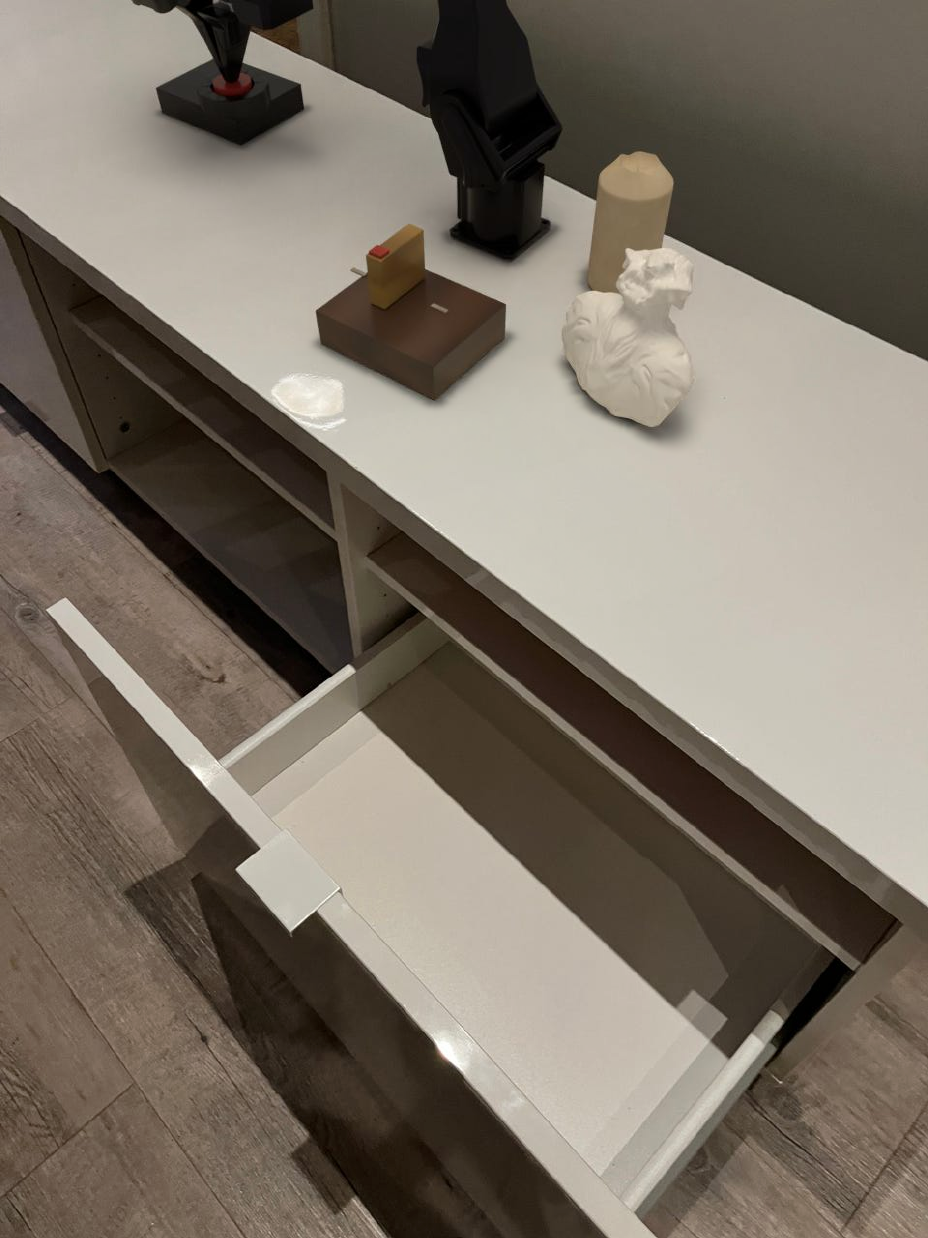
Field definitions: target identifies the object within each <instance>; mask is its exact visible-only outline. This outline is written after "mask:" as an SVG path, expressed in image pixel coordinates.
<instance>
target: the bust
mask: <svg viewBox="0 0 928 1238" xmlns="http://www.w3.org/2000/svg"><path fill="white" fill-rule="evenodd" d="M625 254H626V260H625V262H624V263H623V266H622V267H623V269H626V270H625V272H624V273H622V274H621V275H620V276H619V278H618V280H617V282H616V287H617V289H618V290H619V293H620V294H621V295H622V296H621V295H620V294H617V293H612V292H608V293H602V292H598V291H593V290H588V291H585V292H583V293H580V294H578V295H576V296H575V297H574V298H573V300H572V302H571V306H570V307H569V308H568V309H567V311H566V314H565V323H564V324H563V326H562V329H561V341H562V344H563V352H564V357H565V358H566V359H567V361H568V362H569V364H570V366H571V368H572V369H573V370H574V372H575V373H576V379H577V382H578V384H579V386H580V388H581V389H582V390H583V391H585V392H586V393H587V394H588V395H589V397H590V398H591V399H593V401H595V402H596V403H597V404H598V405H600V406H602V407H604V408H605V409H606V410H608V412H609V413H610V414H611V415H612V416H614V417H619V418H625V419H626V418H627V419H630V420H633V421H634V422H636V423H638V424H641V425H643V426H646V427H649V428H655V427H658V426H659V425H661V423H662V422H663V421H665V419H666V418H667V417H668V415H670V414H671V413H672V411H673V410H674V409H675V408H676V407H677V406H678V404H679V403H681V402H682V401H683V400H685V399H686V398H687V397H688V395H689V394H690V392H691V390H692V387H693V385H694V384H695V382H696V379H697V378H696V372H695V371H694V369H693V363H692V355H691V353H690V351H689V349H688V348H687V346H686V344H685V342H684V341H683V339H682V338H681V337H679V334H678V332H677V326H676V324H675V323H674V322H673V321H672V319H671V318H670V317H669V316H670V309H671V307H672V306H674V307H675V308H677V309H678V310H680V311H683V309H684V308H685V304H686V301H687V300H688V297H689V296H691V295H692V293H693V282H694V264H693V263H692V262H691V261H690V260H689V259H688V258H686V256H685V255H684V254H681V252H680V249H678V250H676V249H675V248H670V247H662V248H660V249H654V250H641V251H634V250H632V249H630V248H627V249H626V250H625Z"/></svg>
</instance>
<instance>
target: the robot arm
mask: <svg viewBox="0 0 928 1238" xmlns="http://www.w3.org/2000/svg"><path fill="white" fill-rule="evenodd" d="M436 1H437V3H436V4H437V10H438V11H437V12H438V19H437V20H438V21H437V23H436V28H435V32H434V36H433V37H431V39H428V40H427V41H425V42H423V43H422V44H420V45H418V46H416V56H415V57H416V65H417V69H418V72H419V76H420V79H421V83H422V100H421V106H422V107H423V108H426V107H428V109H429V115H430V116H429V117H430V119H431V122H432V125H433V127H434V130H435V131H436V133H437V135H438V140H439V143H440V146H441V150H442V153H443V157H444V161H445V164H446V167H447V171H448V174H449V175H450V176H452V177H453V178H454V177H455V178H456V213H457V214H456V216H457V219H458V220H459V222H458V223H456V224H455V225H453V226H452V227H451V228H449V237H451V238H452V239H455V240H457V241H459V242H461V243H465V244H467V245H469V246H472V247H474V248H476V249H479V250H481V251H483V252H486V253H488V254H491V255H493V256H496V257H498V258H500V259H503V260H506V261H511V260H514V259H515V258H516V257H517V256H519V255H520V254H521V253H522V252H523V251H525V250H526V249H527V248H528V247H529V246H531V245H532V244H533V243H534V242H535V241H537V240H538V239H539V238H540V237H542V236H543V235H544V234H545V233H546V232H548V231H549V230H550V229H551V223H552V222H551V221H550V219H547V218H545V217H543V216H542V214H543V213H542V212H543V199H544V187H545V185H544V184H545V174H546V173H545V171H546V164H545V163H543V162H541V161H539V160H538V159H540V158H541V157H542V156H544V155H545V154H546V153H547V152H551V151H552V150H554V149H555V148H556V145H557V143H558V141H559V139H560V136H561V134H562V131H563V124H562V122H561V121H560V119H559V117H558V116H557V115H556V113H555V111H554V109H553V108H552V106H551V104H550V103H549V101H548V99H547V97H546V96H545V94H544V92H543V91H542V89H541V88H540V85H539V84H538V82H537V77H536V74H535V73H536V72H535V68H534V63H533V58H532V55H531V49H530V46H529V41H528V37H527V35H526V33H525V32H524V30H523V28H522V27H521V25H520V24H519V22H518V20H517V19H516V17H515V15H514V14H513V12H512V11H511V9H510V7H509V5H508V3H507V0H436ZM131 3H133V4H134V5H135V6H138V7H140V6H143V7H145V8H149V9H151V10H153V11H154V12H155V13H158V14H160V15H161V14H163V15H165V14H167V13H170V12H172V11H173V10H174V9H177V10H178V11H180V12H181V13H182V14H184V15H186V16H187V17H188V18H189V19H190V20H191V21H192V23H193V25H194V26H195V27H196V30H197V31H198V33H199V34H200V36H201V38H202V40H203V43H204V44H205V45H206V48H207V49H208V51H209V54H210V56H211V57H212V59H214V61H215V63H216V65H217V67H218V69H219V71H220V73H221V75H222V77H223V78H224V80H225V81H226V82H229V83H234V82H236V81H237V80H238V79H239V76H240V72H241V67H242V63H244V58H245V55H246V51H247V46H248V43H249V38H250V34H251V32H252V28H256V29H259V30H262V31H271V30H274V29H277V28H279V27H281V26H282V25H285V24H287V23H289V22H290V21H293V20H294V19H297V18H298V17H301V16H303V15H304V14H306V13H309V12H310V11H312V10H314V8H315V7H314V0H131Z"/></svg>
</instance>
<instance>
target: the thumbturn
mask: <svg viewBox="0 0 928 1238" xmlns="http://www.w3.org/2000/svg"><path fill="white" fill-rule="evenodd" d="M425 254H426V253H425V231H424V229H423V228H420V227H418V226H416V225H413V224H411V223H408V224H407V225H405V226H404V227H402V228H401V229H400V230H398V231H397V232H395V233H393V235H391V236H390V237H388V238H387V239H385V240H384V241H383V242H382V243H380V244H377V245H375V246H373V247H372V248H371V249H369V250H368V253H367V254H366V255H365V259H366V260H365V261H366V272H368V281H369V291H370V302H371V303H372V304H374V305H376V306H378V307H380V308H382V309H386V308H387V307H389V306H390V305H391V304H392V303H394V302H395V301H396V300H398V299H399V298H400V297H401V296H403V295H404V294H405V293H406V292H408V291H409V290H410V289H412V288H413V287H414V286H415V285H417V284H418V283H419V282H421V281H422V280H423V279H424V278H425V269H426V256H425Z"/></svg>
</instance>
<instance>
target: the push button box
mask: <svg viewBox="0 0 928 1238" xmlns="http://www.w3.org/2000/svg"><path fill="white" fill-rule="evenodd" d="M240 73H244V74H246V75H248V76H249V77H250V78H251V82H252V88H253V89H251V90H249V91H248V92H246V93H244V94H238V95H233V96H228V95H220V94H217V93H215V92H214V88H213V80H214V79H215V78H216V77H217V76H219V75H221V73H220V71H219V69H218V67H217V65H216V63H215V61H214V59H213V58H211V59H210V60H207V61H206V62H204V63H201V64H199V65H198V66H195V67H194V68H192V69H190V70H188V71H186V72H184V73H182V74H180V75H178V76H176V77H174V78H172V79H171V80H168V81H166V82H164V83H162V84H160V85H158V86H156V87H155V92H156V95H157V99H158V103H159V107H160V111H161V114H164V115H166V116H168V117H171V118H174V119H176V120H179V121H181V122H183V123H185V124H189V125H191V126H193V127H195V128H198V129H199V130H202V131H204V132H207V133H209V134H212V135H215V136H217V137H219V138H222V139H224V140H226V141H229V142H231V143H233V144H236V145H238V146H243V145H245V144H248V143H249V142H250V141H252V140H253V139H255V138H258V137H259V136H260V135H262V134H264V133H266V132H267V131H270V130H271V129H272V128H274V127H276V126H278V125H279V124H281V123H283V122H285V121H287V120H288V119H289V118H292V117H293V116H295V115H297V114H298V113H300V112H303V110H305V104H304V103H305V102H304V97H303V90H302V89H303V88H302V84H301V83H299V82H296V81H294V80H291V79H288V78H286V77H283V76H280V75H279V74H275V73H272V72H269V71H266V70H264V69H261V68H258V67H257V66H254V65H250V64H248V63H245V62H243V63H242V67H241V72H240Z"/></svg>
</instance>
